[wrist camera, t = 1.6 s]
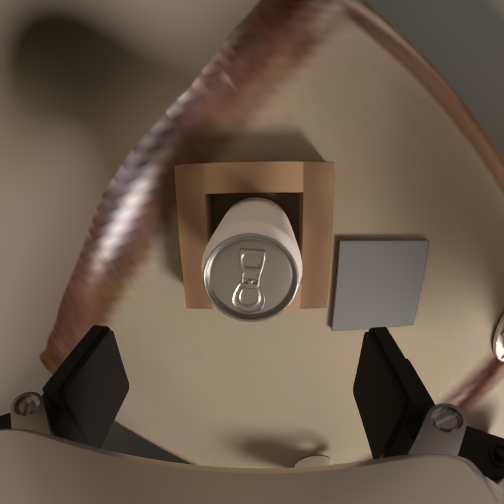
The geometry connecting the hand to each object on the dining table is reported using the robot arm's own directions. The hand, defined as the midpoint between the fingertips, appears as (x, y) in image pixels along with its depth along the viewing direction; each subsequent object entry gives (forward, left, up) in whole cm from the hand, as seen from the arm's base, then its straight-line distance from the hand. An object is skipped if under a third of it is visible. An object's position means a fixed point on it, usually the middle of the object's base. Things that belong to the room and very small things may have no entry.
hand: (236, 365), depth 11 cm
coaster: (-13, +6, -20) cm, 24 cm away
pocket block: (0, 0, -20) cm, 20 cm away
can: (0, 0, -20) cm, 20 cm away
